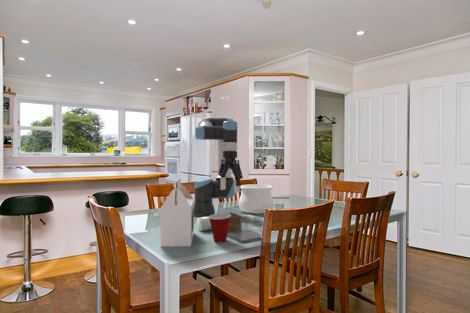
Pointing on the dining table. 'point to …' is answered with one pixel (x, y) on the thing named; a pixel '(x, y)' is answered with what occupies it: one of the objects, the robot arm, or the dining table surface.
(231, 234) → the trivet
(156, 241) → the dining table surface
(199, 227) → the pale green capsule
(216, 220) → the plastic cup
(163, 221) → the gable box
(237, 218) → the walnut box
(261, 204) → the pot
